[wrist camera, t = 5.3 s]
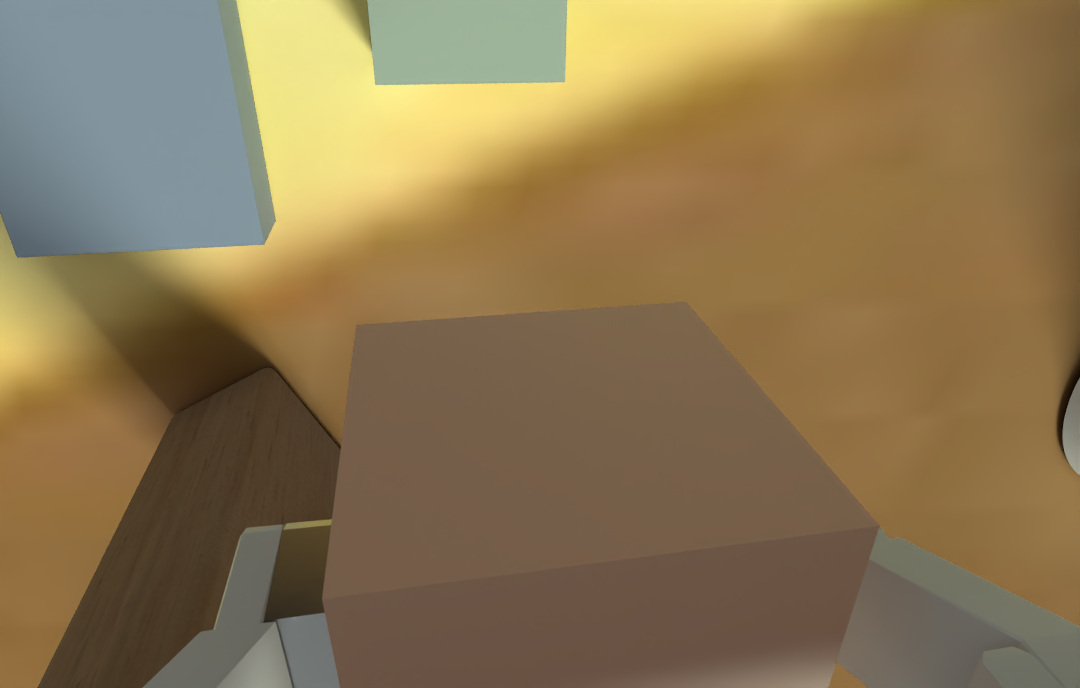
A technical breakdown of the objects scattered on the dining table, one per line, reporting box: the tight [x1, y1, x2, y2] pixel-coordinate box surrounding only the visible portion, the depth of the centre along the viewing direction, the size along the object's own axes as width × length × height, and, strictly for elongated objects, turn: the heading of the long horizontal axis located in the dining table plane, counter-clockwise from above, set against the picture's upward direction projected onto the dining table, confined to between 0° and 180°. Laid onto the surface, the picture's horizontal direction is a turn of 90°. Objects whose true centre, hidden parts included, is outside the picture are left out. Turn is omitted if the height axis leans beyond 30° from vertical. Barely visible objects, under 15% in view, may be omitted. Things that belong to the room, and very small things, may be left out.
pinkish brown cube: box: [322, 302, 880, 688], centre depth 9 cm, size 5×5×5 cm
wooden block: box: [38, 367, 341, 688], centre depth 21 cm, size 9×4×18 cm, turn 25°
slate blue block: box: [0, 0, 276, 257], centre depth 20 cm, size 7×7×2 cm
